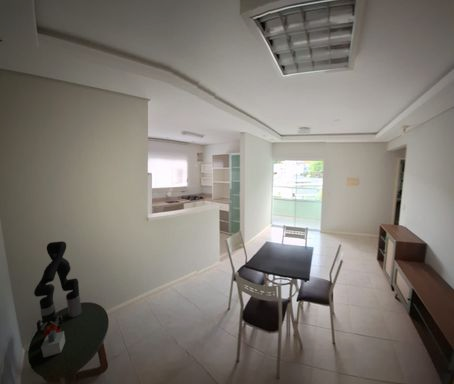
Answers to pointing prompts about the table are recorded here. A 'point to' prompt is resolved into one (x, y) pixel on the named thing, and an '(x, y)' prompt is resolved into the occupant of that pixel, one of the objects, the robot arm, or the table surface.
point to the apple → (51, 328)
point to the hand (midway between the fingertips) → (51, 331)
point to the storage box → (54, 348)
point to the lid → (52, 339)
